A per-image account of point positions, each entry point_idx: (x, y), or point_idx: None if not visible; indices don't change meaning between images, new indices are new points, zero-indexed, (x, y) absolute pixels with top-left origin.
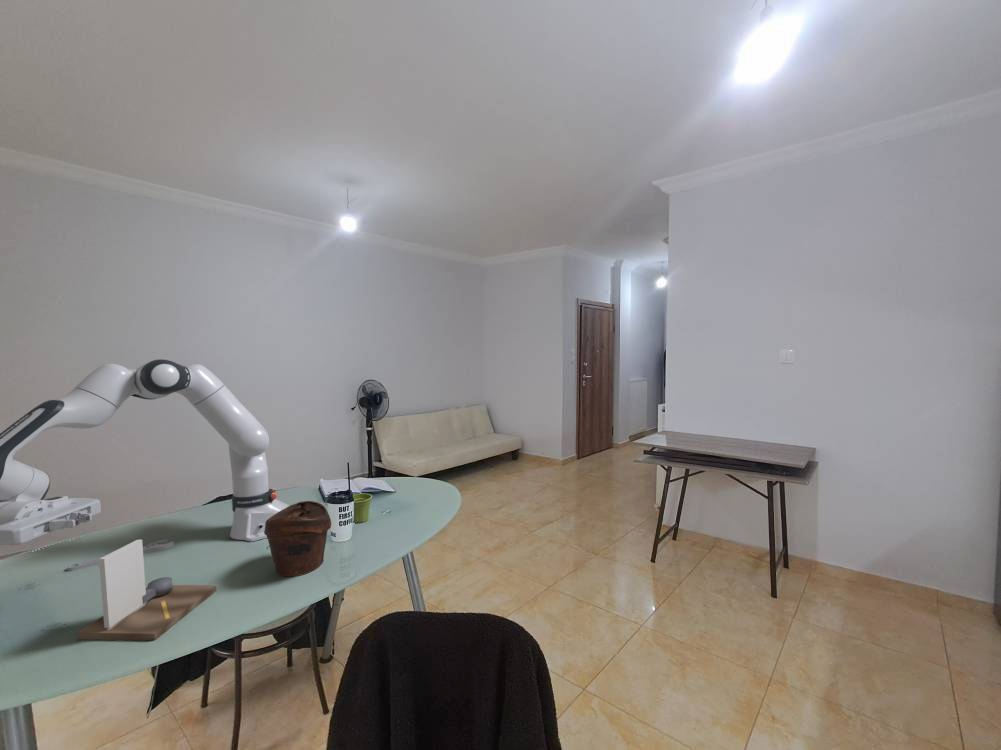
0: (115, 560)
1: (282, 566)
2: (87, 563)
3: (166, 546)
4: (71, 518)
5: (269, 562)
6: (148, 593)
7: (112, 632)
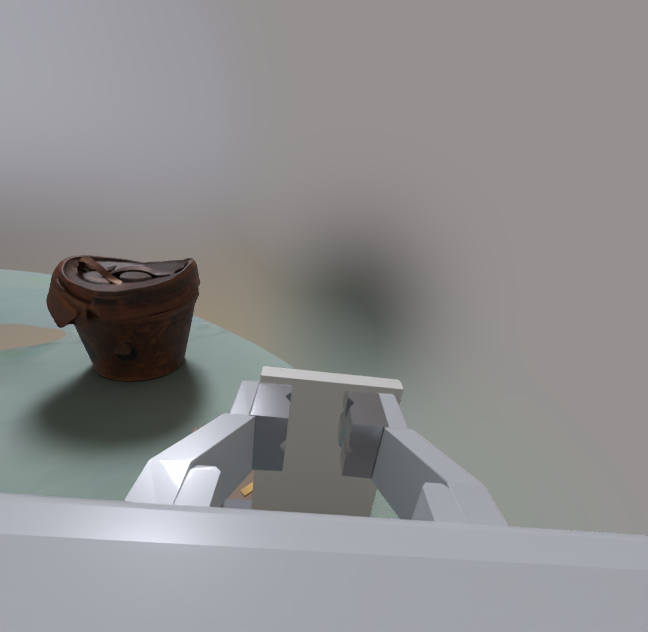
0: None
1: (180, 352)
2: None
3: None
4: (360, 422)
5: (88, 398)
6: (247, 501)
7: None
